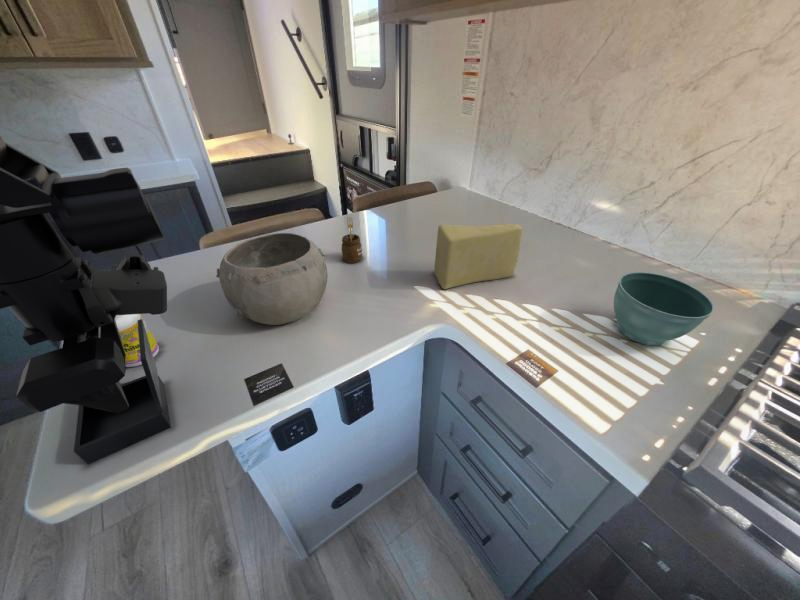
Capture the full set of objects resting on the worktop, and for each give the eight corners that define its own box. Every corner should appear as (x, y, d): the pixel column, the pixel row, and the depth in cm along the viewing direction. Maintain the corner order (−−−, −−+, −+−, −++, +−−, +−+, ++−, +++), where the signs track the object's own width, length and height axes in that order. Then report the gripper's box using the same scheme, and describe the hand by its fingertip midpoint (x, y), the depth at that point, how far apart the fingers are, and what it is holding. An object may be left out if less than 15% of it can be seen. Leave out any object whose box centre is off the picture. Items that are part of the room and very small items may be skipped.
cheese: (504, 266, 94) (516, 218, 85) (520, 284, 86) (534, 233, 77) (432, 272, 91) (437, 222, 82) (441, 290, 83) (448, 238, 74)
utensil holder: (342, 264, 93) (338, 225, 86) (342, 254, 98) (339, 217, 91) (362, 263, 94) (360, 225, 87) (362, 253, 99) (359, 216, 92)
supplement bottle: (115, 372, 59) (74, 319, 51) (125, 349, 64) (89, 297, 56) (157, 363, 61) (124, 310, 53) (163, 340, 66) (134, 289, 58)
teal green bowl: (700, 363, 64) (735, 321, 57) (614, 352, 66) (639, 311, 59) (661, 314, 77) (685, 276, 70) (590, 306, 79) (608, 268, 72)
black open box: (88, 464, 45) (73, 451, 43) (91, 413, 52) (79, 400, 50) (170, 427, 50) (161, 413, 48) (164, 385, 57) (155, 371, 55)
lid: (140, 359, 42) (146, 358, 43) (137, 320, 49) (142, 319, 49) (157, 413, 48) (162, 411, 48) (152, 370, 54) (157, 369, 55)
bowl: (301, 270, 90) (292, 219, 81) (350, 305, 77) (345, 249, 68) (217, 302, 77) (195, 246, 68) (258, 351, 64) (237, 290, 55)
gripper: (148, 284, 26) (214, 401, 35) (135, 214, 38) (186, 315, 47) (-58, 340, 20) (84, 461, 30) (4, 238, 32) (91, 347, 42)
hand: (122, 381), depth 37 cm, fingers open, 9 cm apart
